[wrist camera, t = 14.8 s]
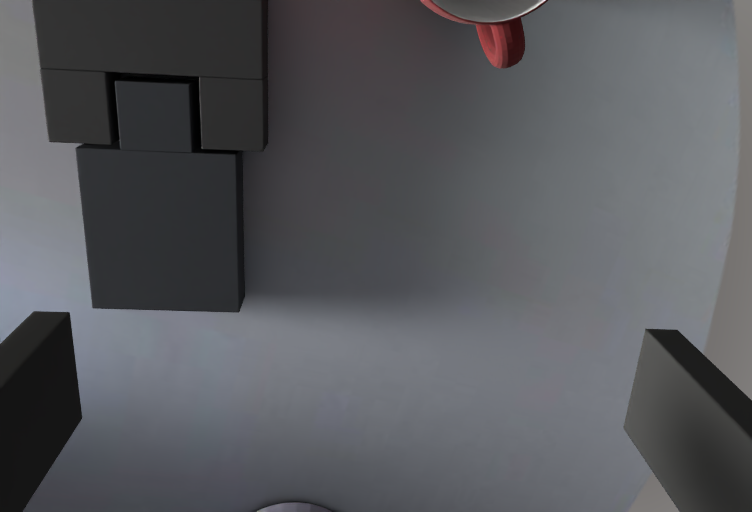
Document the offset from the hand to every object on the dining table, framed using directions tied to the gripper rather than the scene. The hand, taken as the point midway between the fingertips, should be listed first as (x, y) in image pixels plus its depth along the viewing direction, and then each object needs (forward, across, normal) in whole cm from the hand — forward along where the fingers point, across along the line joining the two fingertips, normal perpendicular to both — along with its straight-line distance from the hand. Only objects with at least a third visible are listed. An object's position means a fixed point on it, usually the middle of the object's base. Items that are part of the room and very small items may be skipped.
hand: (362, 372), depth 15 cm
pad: (+27, -11, -3) cm, 29 cm away
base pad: (+27, -11, +6) cm, 29 cm away
